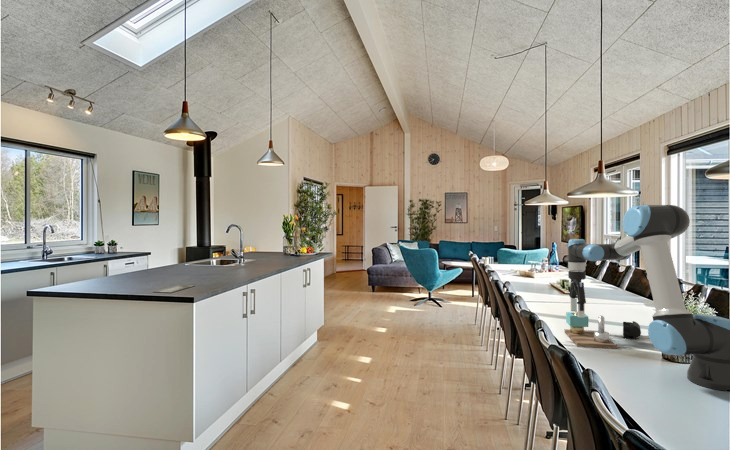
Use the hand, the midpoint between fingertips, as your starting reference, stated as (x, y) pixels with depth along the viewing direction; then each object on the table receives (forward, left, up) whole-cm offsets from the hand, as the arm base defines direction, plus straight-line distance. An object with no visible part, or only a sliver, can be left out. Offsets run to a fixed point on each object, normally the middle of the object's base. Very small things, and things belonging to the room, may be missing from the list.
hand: (577, 314), depth 204 cm
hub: (0, 0, -9) cm, 9 cm away
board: (-6, -3, -11) cm, 13 cm away
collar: (0, 0, -5) cm, 5 cm away
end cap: (+3, -25, -11) cm, 27 cm away
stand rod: (-13, -7, -9) cm, 17 cm away
